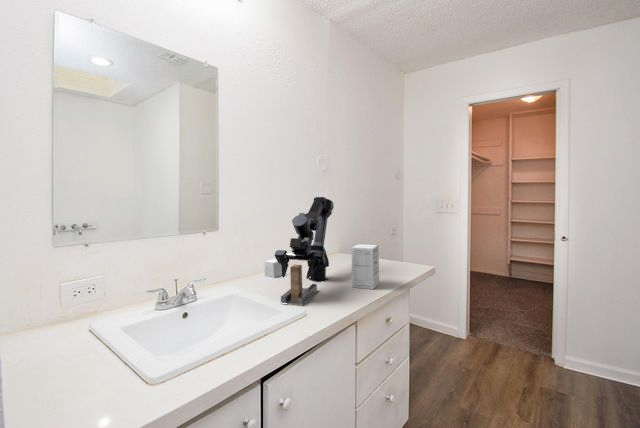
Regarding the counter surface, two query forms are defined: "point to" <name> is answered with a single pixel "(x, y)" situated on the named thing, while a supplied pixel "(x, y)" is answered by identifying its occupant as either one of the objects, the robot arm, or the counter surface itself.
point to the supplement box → (365, 266)
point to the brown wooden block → (296, 281)
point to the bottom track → (302, 298)
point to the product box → (273, 268)
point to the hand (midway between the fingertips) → (295, 277)
